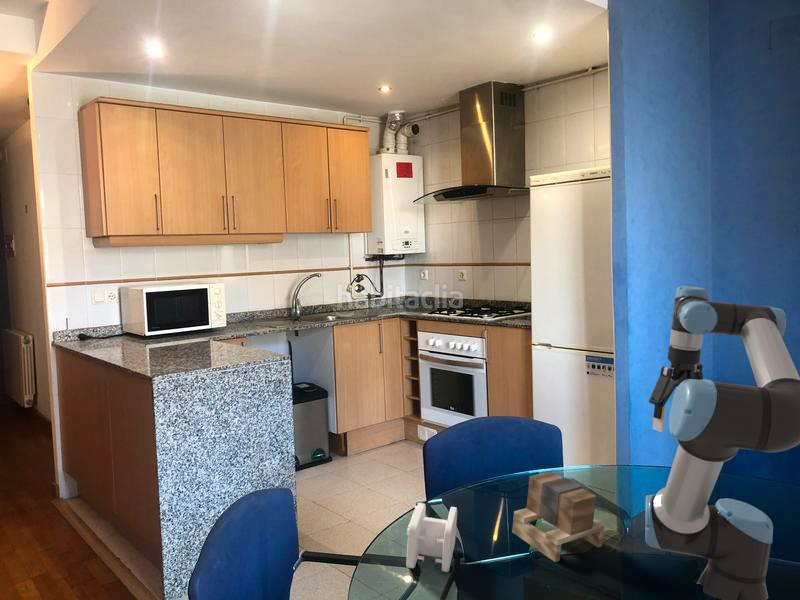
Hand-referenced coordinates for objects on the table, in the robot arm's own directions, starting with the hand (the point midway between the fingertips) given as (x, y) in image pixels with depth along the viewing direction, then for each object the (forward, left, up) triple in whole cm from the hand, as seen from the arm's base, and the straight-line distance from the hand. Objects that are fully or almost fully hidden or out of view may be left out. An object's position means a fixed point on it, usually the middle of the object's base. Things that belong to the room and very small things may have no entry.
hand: (674, 426), depth 167 cm
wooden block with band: (+14, +24, -27) cm, 39 cm away
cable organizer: (+21, +60, -33) cm, 72 cm away
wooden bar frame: (+14, +24, -33) cm, 43 cm away
